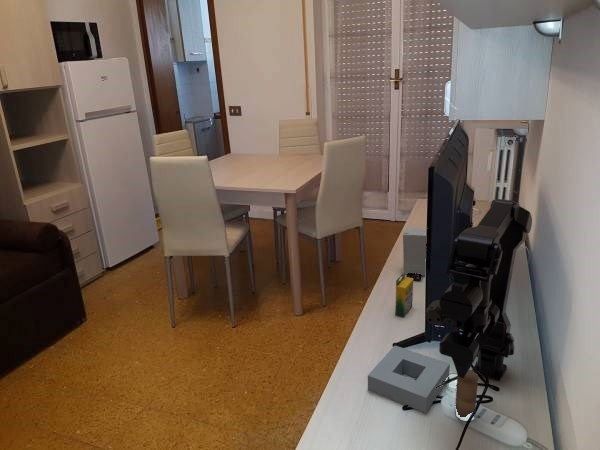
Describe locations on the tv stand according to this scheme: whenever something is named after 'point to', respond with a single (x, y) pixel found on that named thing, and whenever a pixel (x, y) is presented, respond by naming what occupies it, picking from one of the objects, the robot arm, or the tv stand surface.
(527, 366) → the tv stand surface
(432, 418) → the tv stand surface
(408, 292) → the crayon box
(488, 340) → the robot arm
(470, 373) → the walnut peg
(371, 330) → the tv stand surface
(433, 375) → the socket block
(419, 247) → the skincare box
